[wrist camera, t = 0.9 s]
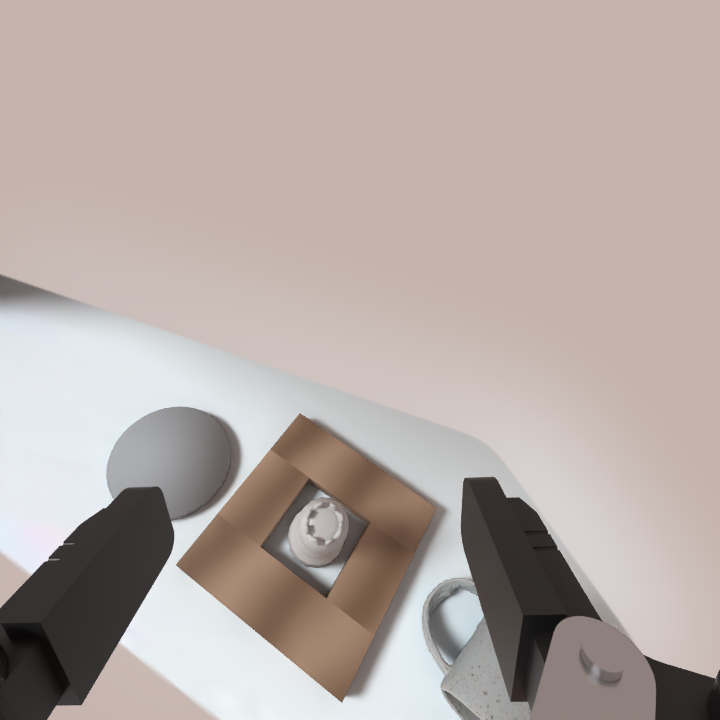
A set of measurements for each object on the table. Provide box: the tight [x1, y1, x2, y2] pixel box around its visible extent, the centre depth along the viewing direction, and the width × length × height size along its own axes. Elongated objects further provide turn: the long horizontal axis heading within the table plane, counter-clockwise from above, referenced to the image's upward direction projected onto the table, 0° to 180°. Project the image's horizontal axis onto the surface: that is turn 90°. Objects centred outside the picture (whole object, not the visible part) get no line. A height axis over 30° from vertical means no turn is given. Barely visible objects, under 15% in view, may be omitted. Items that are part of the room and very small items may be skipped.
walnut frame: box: [176, 414, 436, 702], centre depth 29 cm, size 14×14×1 cm
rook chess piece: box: [288, 497, 349, 568], centre depth 26 cm, size 4×4×8 cm
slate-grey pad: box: [107, 407, 231, 520], centre depth 30 cm, size 9×9×1 cm
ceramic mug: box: [422, 578, 531, 720], centre depth 24 cm, size 11×8×8 cm
